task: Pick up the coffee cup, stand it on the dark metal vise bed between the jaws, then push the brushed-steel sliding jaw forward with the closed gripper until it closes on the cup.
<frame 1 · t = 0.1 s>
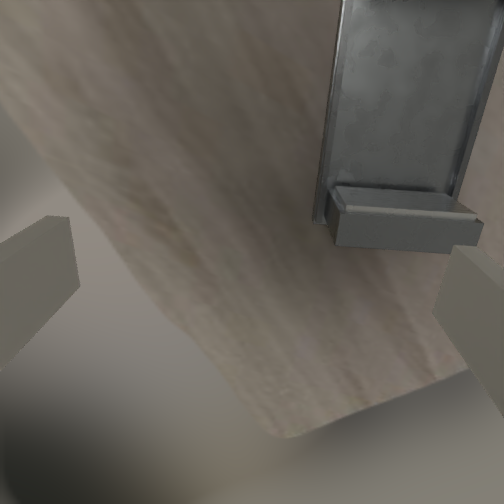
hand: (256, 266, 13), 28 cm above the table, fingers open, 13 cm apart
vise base: (400, 97, 36), on the table
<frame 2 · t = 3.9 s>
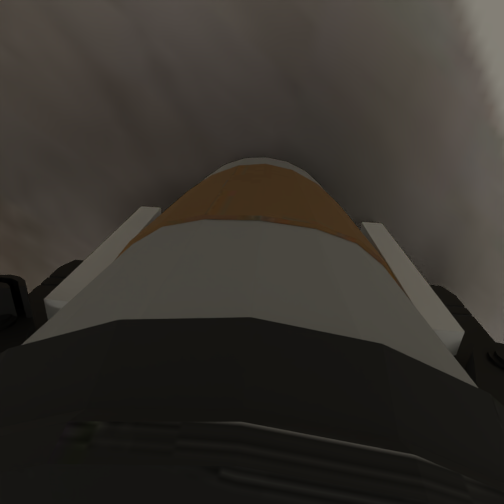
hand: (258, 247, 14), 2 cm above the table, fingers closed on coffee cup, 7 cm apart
coffee cup: (260, 225, 16), on the table, touching gripper
when the fingers open (5 cm above the table, at t = 9.7 s): coffee cup moves 3 cm, resting on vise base.
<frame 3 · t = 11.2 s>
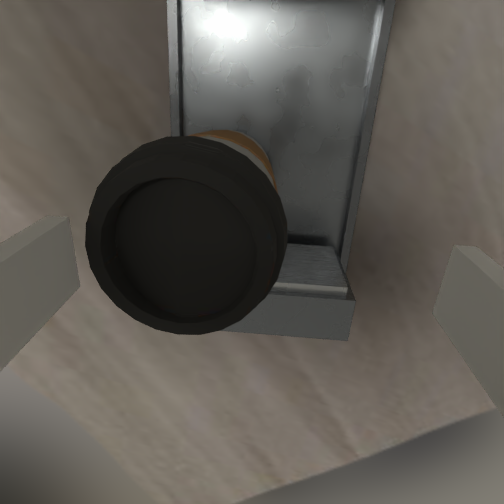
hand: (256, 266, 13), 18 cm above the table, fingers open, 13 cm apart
coffee cup: (229, 172, 28), point 1 cm above the table, touching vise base
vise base: (270, 125, 28), on the table
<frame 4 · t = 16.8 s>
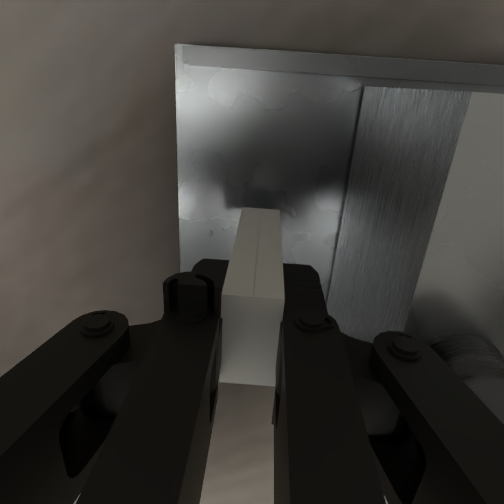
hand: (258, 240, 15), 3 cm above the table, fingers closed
sliding jaw: (422, 301, 12), point 7 cm above the table, slide at 6.1 cm, touching hand
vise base: (456, 231, 18), on the table
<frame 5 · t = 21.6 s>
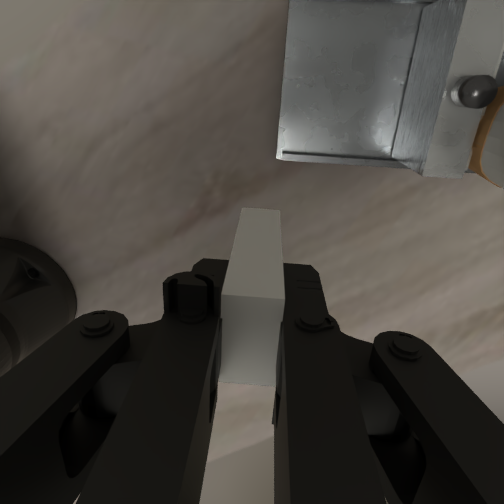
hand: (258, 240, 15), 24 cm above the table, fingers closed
coffee cup: (473, 126, 34), point 1 cm above the table, touching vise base
sliding jaw: (451, 90, 28), point 7 cm above the table, slide at 9.9 cm
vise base: (422, 89, 34), on the table
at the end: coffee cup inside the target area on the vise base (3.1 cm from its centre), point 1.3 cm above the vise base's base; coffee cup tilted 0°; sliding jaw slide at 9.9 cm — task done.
